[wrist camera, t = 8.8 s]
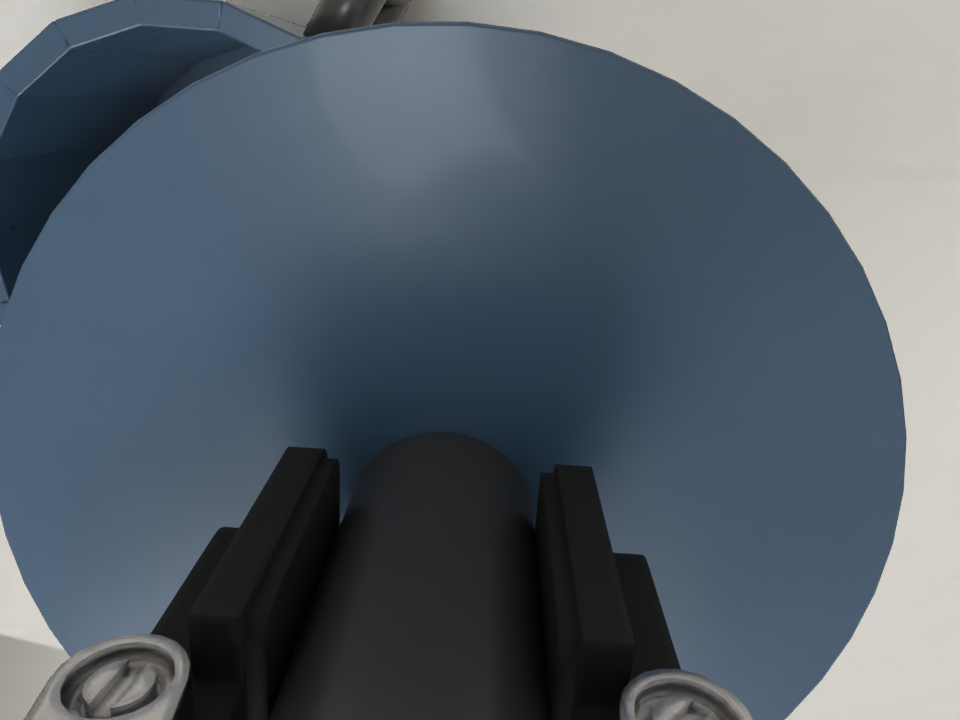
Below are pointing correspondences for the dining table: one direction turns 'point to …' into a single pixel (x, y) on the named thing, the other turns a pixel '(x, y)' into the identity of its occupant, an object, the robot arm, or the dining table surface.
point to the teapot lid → (454, 367)
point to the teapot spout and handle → (354, 14)
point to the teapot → (103, 95)
